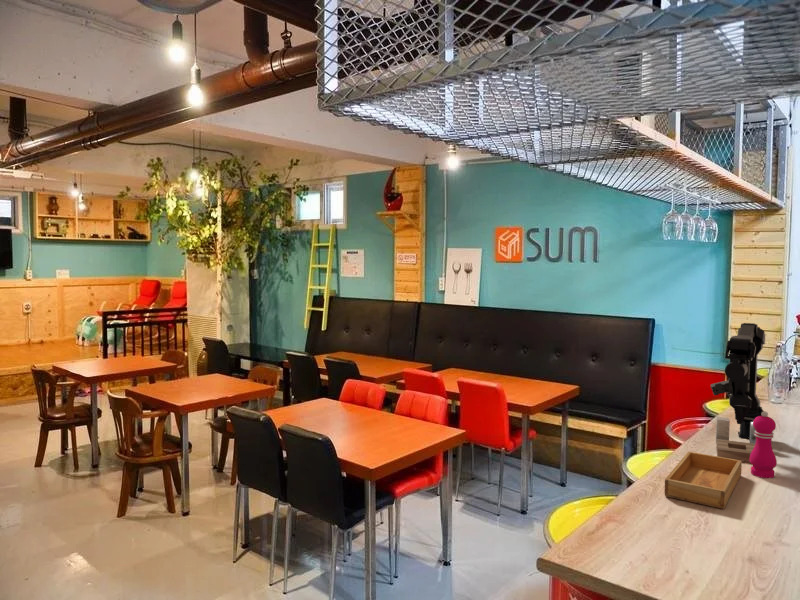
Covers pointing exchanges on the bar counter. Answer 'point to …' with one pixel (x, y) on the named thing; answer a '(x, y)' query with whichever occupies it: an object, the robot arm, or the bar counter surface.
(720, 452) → the bore block
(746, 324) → the robot arm
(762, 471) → the pepper mill
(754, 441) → the round bit
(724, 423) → the square bit
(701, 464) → the tray
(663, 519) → the bar counter surface
